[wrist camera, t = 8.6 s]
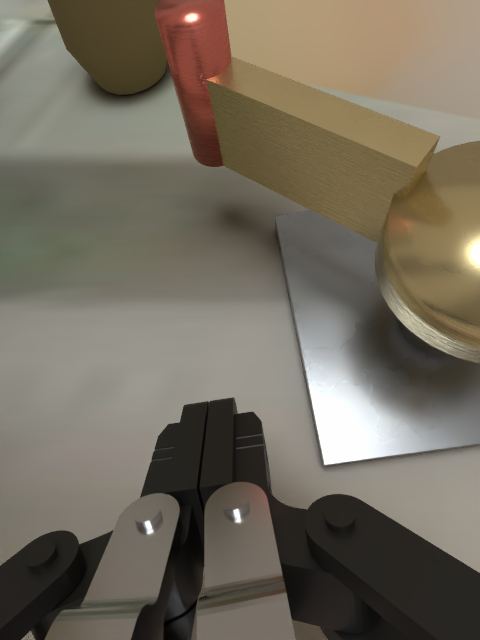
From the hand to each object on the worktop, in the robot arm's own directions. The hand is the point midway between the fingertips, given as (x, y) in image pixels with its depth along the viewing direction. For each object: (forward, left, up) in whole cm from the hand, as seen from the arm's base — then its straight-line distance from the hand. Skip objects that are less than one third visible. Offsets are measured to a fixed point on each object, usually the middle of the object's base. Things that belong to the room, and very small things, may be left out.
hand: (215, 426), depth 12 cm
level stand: (+11, +6, -8) cm, 15 cm away
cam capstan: (+7, +9, -3) cm, 11 cm away
